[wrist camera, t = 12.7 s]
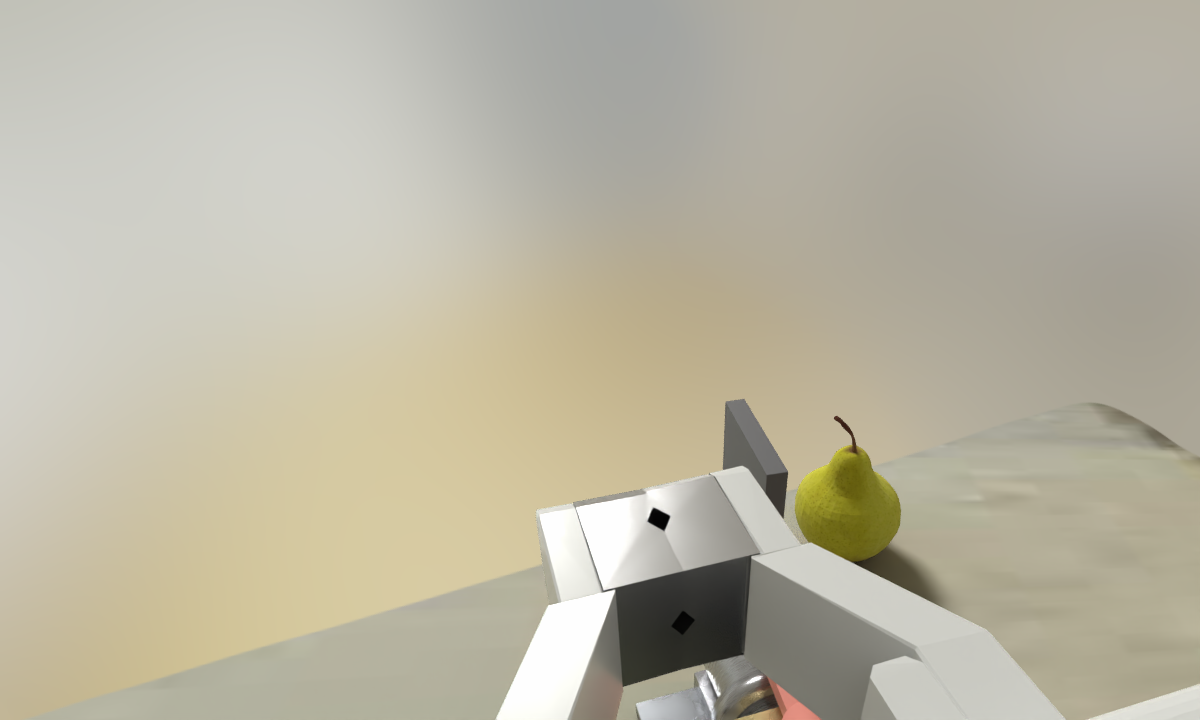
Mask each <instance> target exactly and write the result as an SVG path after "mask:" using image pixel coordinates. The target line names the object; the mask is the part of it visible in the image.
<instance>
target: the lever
mask: <svg viewBox="0 0 1200 720" xmlns="http://www.w3.org/2000/svg"><path fill="white" fill-rule="evenodd" d="M725 406H726V407H725V431H724V457H723V470H726V469H730V468H735V467H739V466H744V467H745V468H747V469H749V471H750V472H751V474H752V475H753V477H754V478H755V479H756V481H757V482H758V484H759V485H760V487H761V488H762V489H763V491H764V492H765V494H766V495H767V497H768V498H769V499H770V501H771V502H772V504H773V505H774V507H775V508H776V510H777V511H778V512H779V514H780V515H781V517H782V518H784V508H785V498H786V488H787V478H788V471H787V469H786V468H785V466H784V464H783V463H782V461H781V459H780V458H779V456H778V454H777V453H776V451H775V449H774V448H773V446H772V444H771V443H770V441H769V439H768V438H767V436H766V435H765V433H764V431H763V430H762V428H761V426H760V425H759V423H758V421H757V419H756V418H755V416H754V415H753V413H752V411H751V410H750V408H749V406H748V405H747V403H746V401H745V400H744V399H741V400H734V401H727V402H726V405H725ZM767 678H768V680H769V683H770V685H771V688H772V690H773V693H774V695H775V698H776V700H777V703H778V705H779V708H780V710H781V713H782V715H783V718H782V720H822V719H820V718H819V717H818V716H817V715H815V714H814V713H813V712H812V711H810V710H809V709H808V708H807V707H805V706H804V705H803V704H802V703H800V702H799V701H798V700H797V699H795V698H794V697H793V696H791V695H790V694H789V693H788V692H786V691H785V690H784V689H783V688H781V687H780V686H779V685H778V684H776V683H775V682H774V681H773V680H771V679H770V678H769V677H767Z"/></svg>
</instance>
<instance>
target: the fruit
mask: <svg viewBox="0 0 1200 720" xmlns="http://www.w3.org/2000/svg"><path fill="white" fill-rule="evenodd" d="M834 419H835V420H836V421H838V422H839V423H840V424H841V425H842V427H843V428H844V429H845V430H846V431H847V432H848V433H849V434H850V435H851V437H852V445H849V446H845V447H843V448H841V449H839V450H838V451H837V452H836V453H835V455H834V456H833V458H832V460H831V461H830V463H829V464H828V465H825V466H823V467H820V468H818V469H816V470H814V471H812V472H811V473H809V474H808V475H806V476H805V478H804V479H803V480H802V482H801V484H800V485H799V488H798V491H797V494H796V497H795V514H796V518H797V522H798V524H799V527H800V529H801V531H802V533H803V535H804V536H805V538H806V539H807V541H808V542H809V543H813V544H815V545H817V546H819V547H821V548H823V549H825V550H827V551H829V552H831V553H833V554H835V555H837V556H839V557H841V558H843V559H845V560H847V561H849V562H856V561H862V560H865V559H868V558H870V557H873V556H875V555H877V554H878V553H879V552H881V551H882V550H883V549H884V548H885V547H886V546H887V545H888V544H889V543H890V541H891V540H892V539H893V537H894V536H895V534H896V533H897V531H898V528H899V526H900V516H901V509H900V502H899V498H898V496H897V493H896V492H895V491H894V489H893V488H892V487H891V485H890V484H889V483H888V482H887V481H886V480H885V479H884V478H883V477H882V476H881V475H879V474H878V473H876V472H874V471H873V469H872V466H871V461H870V459H869V456H868V455H867V453H866V452H865V451H864V450H863V449H862V448H860V447H858V446H856V442H855V438H854V435H853V433H852V431H851V429H850V428H849V426H848V425H847V424H846V423H844V422H843V420H842V419H841V418H839V417H838V416H835V417H834Z"/></svg>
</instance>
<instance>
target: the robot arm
mask: <svg viewBox="0 0 1200 720" xmlns="http://www.w3.org/2000/svg"><path fill="white" fill-rule="evenodd" d="M536 521H537V528H538V535H539V543H540V550H541V556H542V564H543V571H544V577H545V583H546V589H547V595H548V600H549V606H547V608H546V611H545V613H544V615H543V617H542V619H541V622H540V624H539V626H538V628H537V630H536V632H535V635H534V637H533V639H532V641H531V643H530V646H529V648H528V650H527V652H526V654H525V656H524V659H523V661H522V663H521V665H520V667H519V669H518V672H517V674H516V676H515V678H514V680H513V683H512V685H511V687H510V689H509V691H508V693H507V696H506V698H505V700H504V702H503V704H502V707H501V709H500V711H499V713H498V715H497V717H496V720H616V716H617V713H618V709H619V705H620V701H621V697H622V693H623V687H624V686H628V685H631V684H634V683H638V682H641V681H645V680H648V679H651V678H655V677H658V676H661V675H665V674H668V673H671V672H675V671H678V670H681V669H685V668H690V667H694V666H698V665H702V664H707V663H711V662H715V661H719V660H723V659H728V658H732V657H736V656H740V655H744V658H745V659H746V660H747V661H749V662H750V663H751V664H752V665H754V666H755V667H756V668H757V669H759V670H760V671H761V672H762V673H764V674H765V675H766V676H767V677H769V678H770V679H771V680H773V681H774V682H775V683H776V684H778V685H779V686H780V687H781V688H783V689H784V690H785V691H786V692H788V693H789V694H790V695H791V696H793V697H794V698H795V699H797V700H798V701H799V702H800V703H802V704H803V705H804V706H805V707H807V708H808V709H809V710H810V711H812V712H813V713H814V714H815V715H817V716H818V717H819V718H820V719H822V720H1066V719H1065V718H1064V717H1063V716H1062V715H1061V714H1060V712H1059V711H1058V710H1057V709H1056V708H1055V707H1054V706H1053V704H1052V703H1051V702H1050V701H1049V700H1048V699H1047V697H1046V696H1045V695H1044V694H1043V693H1042V692H1041V691H1040V689H1039V688H1038V687H1037V686H1036V685H1035V684H1034V683H1033V681H1032V680H1031V679H1030V678H1029V677H1028V676H1027V675H1026V673H1025V672H1024V671H1023V670H1022V669H1021V668H1020V667H1019V665H1018V664H1017V663H1016V662H1015V661H1014V660H1013V659H1012V657H1011V656H1010V655H1009V654H1008V653H1007V652H1006V651H1005V649H1004V648H1003V647H1002V646H1001V645H1000V644H999V643H998V641H997V640H996V639H995V638H994V637H993V636H992V635H991V633H990V632H989V631H988V630H986V629H984V628H982V627H980V626H978V625H976V624H974V623H972V622H970V621H968V620H966V619H964V618H962V617H960V616H958V615H956V614H954V613H952V612H950V611H948V610H946V609H944V608H942V607H940V606H938V605H936V604H934V603H932V602H930V601H928V600H926V599H924V598H922V597H920V596H918V595H916V594H914V593H912V592H910V591H908V590H906V589H904V588H902V587H900V586H898V585H896V584H894V583H892V582H890V581H888V580H886V579H884V578H882V577H880V576H878V575H876V574H874V573H871V572H869V571H867V570H865V569H863V568H861V567H859V566H857V565H855V564H853V563H851V562H849V561H847V560H845V559H843V558H841V557H839V556H837V555H835V554H833V553H831V552H829V551H827V550H825V549H823V548H821V547H819V546H817V545H815V544H813V543H806V544H802V545H801V544H800V543H799V541H798V540H797V538H796V537H795V535H794V534H793V533H792V531H791V530H790V528H789V527H788V525H787V524H786V522H785V521H784V520H783V518H782V517H781V515H780V514H779V512H778V511H777V510H776V508H775V507H774V505H773V504H772V502H771V501H770V499H769V498H768V497H767V495H766V494H765V492H764V491H763V489H762V488H761V487H760V485H759V484H758V482H757V481H756V479H755V478H754V477H753V475H752V474H751V472H750V471H749V469H747V468H745V467H744V466H739V467H735V468H730V469H726V470H722V471H717V472H713V473H709V475H702V476H698V477H693V478H689V479H684V480H680V481H675V482H671V483H666V484H662V485H657V486H653V487H649V488H644V489H640V490H635V491H630V492H624V493H619V494H615V495H609V496H604V497H598V498H593V499H588V500H583V501H577V502H573V505H572V504H566V505H561V506H556V507H550V508H545V509H539V510H536ZM1087 720H1200V684H1198V685H1195V686H1192V687H1189V688H1185V689H1182V690H1179V691H1176V692H1173V693H1170V694H1166V695H1163V696H1160V697H1157V698H1154V699H1150V700H1147V701H1144V702H1141V703H1138V704H1135V705H1131V706H1128V707H1125V708H1122V709H1119V710H1116V711H1112V712H1109V713H1106V714H1103V715H1100V716H1097V717H1093V718H1090V719H1087Z"/></svg>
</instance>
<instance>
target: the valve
mask: <svg viewBox="0 0 1200 720" xmlns="http://www.w3.org/2000/svg"><path fill="white" fill-rule="evenodd" d="M704 666H705V669H706V670H703V671H699V672H696V673H694V688H691V689H688V690H684V691H681V692H677V693H673V694H670V695H666V696H662V697H659V698H655V699H651V700H648V701H644V702H640V703H637V704H636V713H637V716H638V719H639V720H782V718H783V715H782V713H781V710H780V708H779V705H778V703H777V700H776V698H775V695H774V693H773V690H772V688H771V685H770V683H769V680H768V678H767V676H766V675H765V674H764V673H762V672H761V671H760V670H759V669H757V668H756V667H755V666H754V665H752V664H751V663H750V662H749V661H747V660H746V659H745V658H744V655H740V656H736V657H732V658H728V659H723V660H719V661H715V662H711V663H707V664H704Z"/></svg>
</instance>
